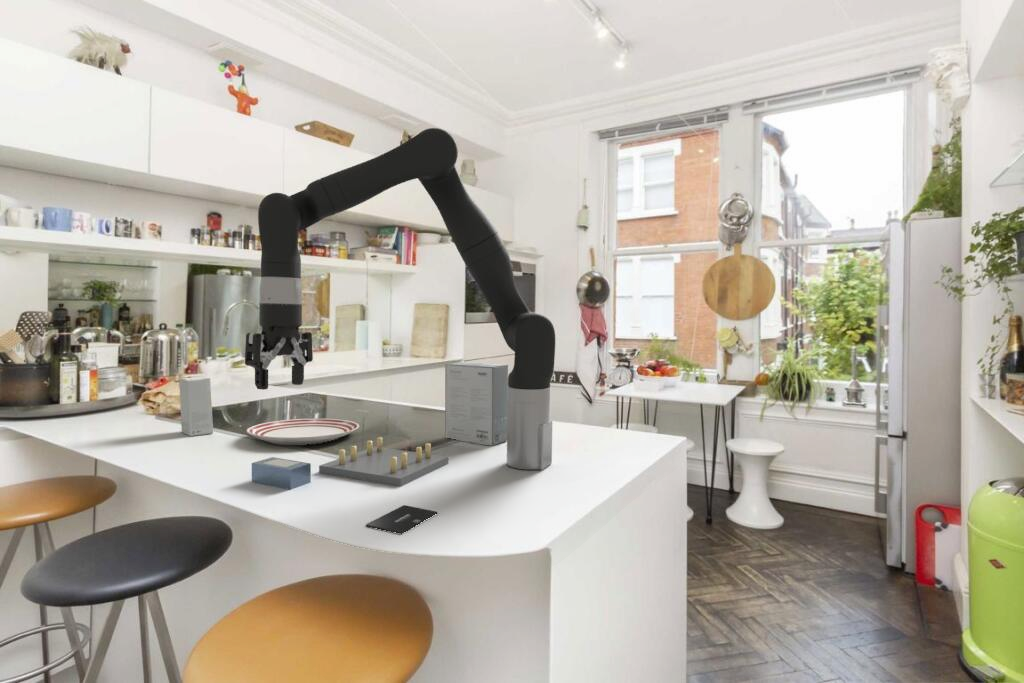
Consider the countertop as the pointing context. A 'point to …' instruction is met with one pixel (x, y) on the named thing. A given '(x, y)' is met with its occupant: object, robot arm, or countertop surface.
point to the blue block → (281, 473)
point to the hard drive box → (476, 402)
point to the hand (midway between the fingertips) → (280, 386)
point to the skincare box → (196, 406)
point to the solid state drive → (401, 519)
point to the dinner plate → (302, 431)
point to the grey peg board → (384, 464)
